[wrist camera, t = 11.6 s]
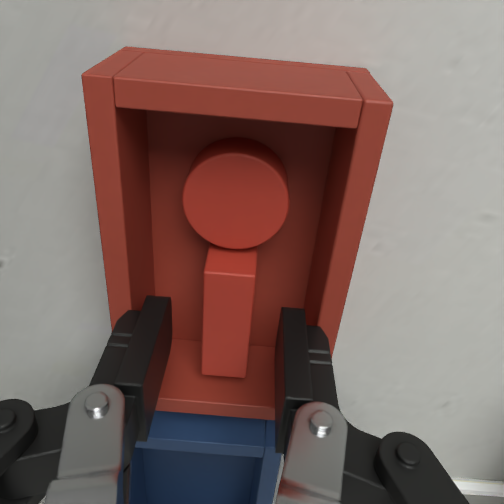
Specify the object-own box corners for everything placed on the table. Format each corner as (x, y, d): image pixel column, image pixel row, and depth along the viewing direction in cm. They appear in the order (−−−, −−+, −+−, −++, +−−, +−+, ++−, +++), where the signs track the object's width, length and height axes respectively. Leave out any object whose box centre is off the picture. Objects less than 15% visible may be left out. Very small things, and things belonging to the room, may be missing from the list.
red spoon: (269, 333, 18) (268, 381, 16) (188, 327, 18) (178, 373, 16) (294, 141, 14) (298, 172, 12) (188, 131, 14) (174, 162, 12)
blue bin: (138, 501, 26) (120, 571, 23) (123, 362, 20) (97, 433, 17) (259, 510, 27) (257, 582, 24) (281, 375, 20) (283, 448, 17)
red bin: (144, 337, 19) (120, 408, 16) (124, 46, 13) (80, 73, 10) (309, 351, 19) (315, 424, 16) (367, 68, 13) (394, 102, 10)
